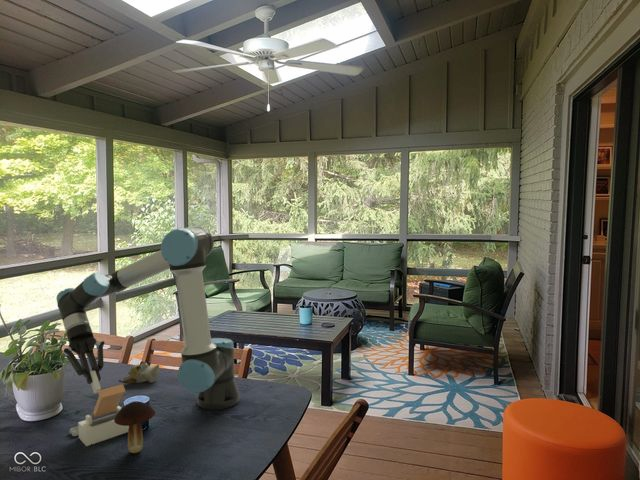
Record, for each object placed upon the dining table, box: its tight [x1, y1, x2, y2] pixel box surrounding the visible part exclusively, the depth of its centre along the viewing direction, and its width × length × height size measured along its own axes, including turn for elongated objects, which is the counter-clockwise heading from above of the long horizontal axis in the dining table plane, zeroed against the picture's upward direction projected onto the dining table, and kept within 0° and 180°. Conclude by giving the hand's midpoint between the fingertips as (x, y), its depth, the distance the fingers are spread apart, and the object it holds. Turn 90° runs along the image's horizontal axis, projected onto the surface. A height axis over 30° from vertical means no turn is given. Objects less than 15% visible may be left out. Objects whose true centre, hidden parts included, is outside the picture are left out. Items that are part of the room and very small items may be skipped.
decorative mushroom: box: [114, 400, 156, 454], centre depth 133 cm, size 11×11×15 cm
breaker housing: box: [68, 405, 129, 447], centre depth 145 cm, size 12×15×7 cm
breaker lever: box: [90, 383, 127, 420], centre depth 140 cm, size 3×7×14 cm
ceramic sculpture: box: [118, 361, 160, 385], centre depth 187 cm, size 11×9×15 cm
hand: (97, 390), depth 146 cm, fingers closed
